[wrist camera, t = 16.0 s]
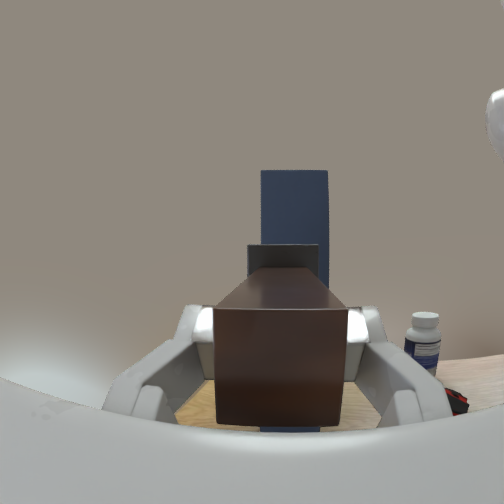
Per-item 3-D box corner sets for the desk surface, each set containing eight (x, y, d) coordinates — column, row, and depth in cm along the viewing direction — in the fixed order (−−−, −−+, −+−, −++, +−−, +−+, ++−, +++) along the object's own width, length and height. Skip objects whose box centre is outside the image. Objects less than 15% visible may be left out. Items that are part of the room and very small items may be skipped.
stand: (311, 392, 39) (316, 189, 39) (319, 436, 28) (327, 170, 28) (266, 391, 40) (267, 190, 39) (260, 436, 29) (260, 170, 28)
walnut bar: (313, 306, 23) (314, 244, 23) (367, 424, 7) (381, 243, 7) (252, 306, 23) (252, 244, 23) (188, 421, 7) (180, 244, 7)
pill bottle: (399, 371, 43) (405, 310, 43) (431, 371, 41) (439, 310, 41) (401, 386, 38) (409, 318, 38) (436, 385, 36) (446, 318, 36)
